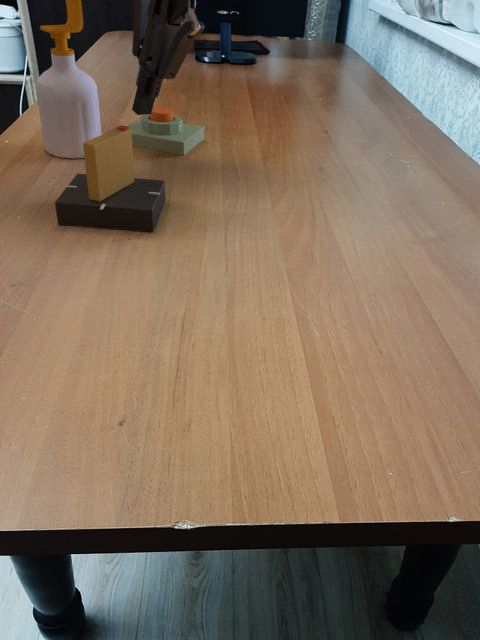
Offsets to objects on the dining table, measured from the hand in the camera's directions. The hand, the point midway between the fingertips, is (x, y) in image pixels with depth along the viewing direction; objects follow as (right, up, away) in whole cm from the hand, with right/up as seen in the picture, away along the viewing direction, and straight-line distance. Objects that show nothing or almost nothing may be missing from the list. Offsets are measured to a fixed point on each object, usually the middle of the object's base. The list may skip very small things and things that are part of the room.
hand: (141, 111), depth 89 cm
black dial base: (-1, -19, -14) cm, 23 cm away
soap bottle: (-12, -5, +4) cm, 13 cm away
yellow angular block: (0, -17, -15) cm, 23 cm away
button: (+2, +2, +9) cm, 9 cm away
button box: (+1, -1, +11) cm, 11 cm away
